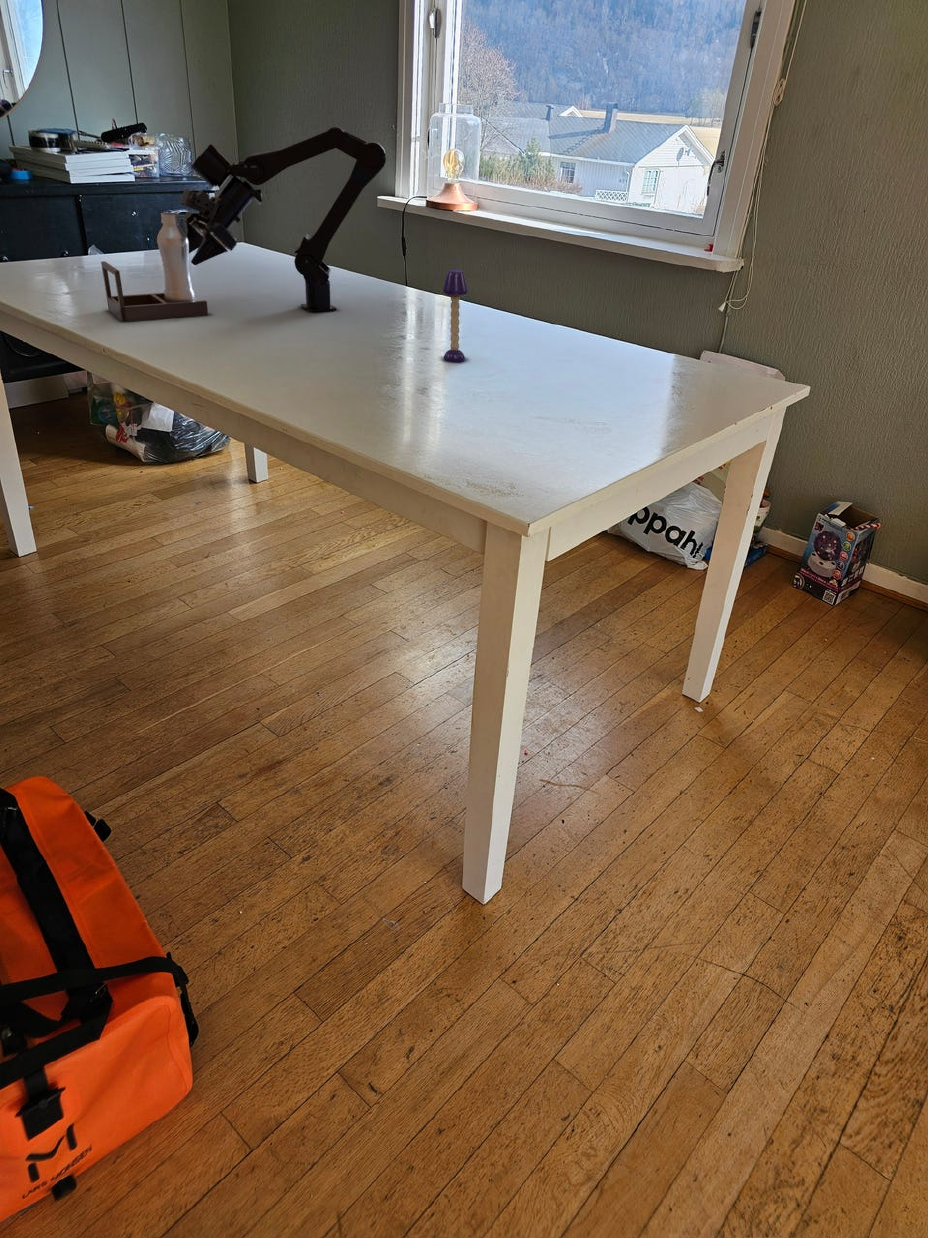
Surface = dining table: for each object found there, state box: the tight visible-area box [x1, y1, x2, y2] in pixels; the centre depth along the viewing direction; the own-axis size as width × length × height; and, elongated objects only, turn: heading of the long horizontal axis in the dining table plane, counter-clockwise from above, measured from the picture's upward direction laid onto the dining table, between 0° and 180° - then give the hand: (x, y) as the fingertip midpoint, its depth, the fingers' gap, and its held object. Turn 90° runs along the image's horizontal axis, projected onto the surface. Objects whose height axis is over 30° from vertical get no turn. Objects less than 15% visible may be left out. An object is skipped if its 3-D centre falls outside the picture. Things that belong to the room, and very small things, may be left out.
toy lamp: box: [442, 269, 468, 363], centre depth 166 cm, size 5×5×17 cm
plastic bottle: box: [156, 212, 197, 303], centre depth 186 cm, size 6×7×20 cm
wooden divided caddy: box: [100, 260, 209, 323], centre depth 187 cm, size 11×19×10 cm, turn 124°
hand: (185, 259), depth 187 cm, fingers open, 9 cm apart
